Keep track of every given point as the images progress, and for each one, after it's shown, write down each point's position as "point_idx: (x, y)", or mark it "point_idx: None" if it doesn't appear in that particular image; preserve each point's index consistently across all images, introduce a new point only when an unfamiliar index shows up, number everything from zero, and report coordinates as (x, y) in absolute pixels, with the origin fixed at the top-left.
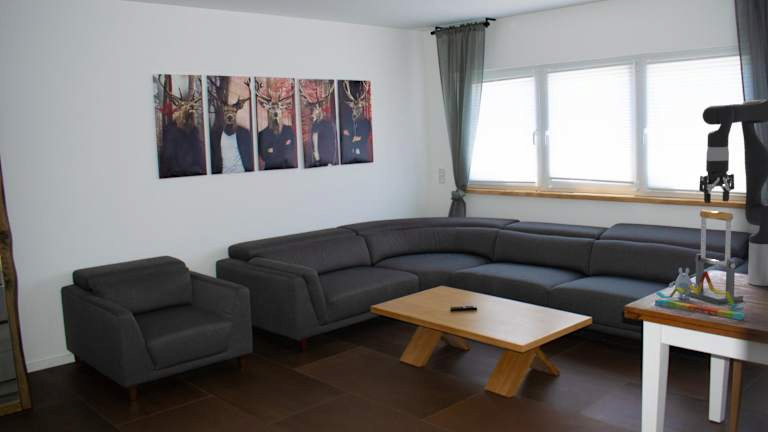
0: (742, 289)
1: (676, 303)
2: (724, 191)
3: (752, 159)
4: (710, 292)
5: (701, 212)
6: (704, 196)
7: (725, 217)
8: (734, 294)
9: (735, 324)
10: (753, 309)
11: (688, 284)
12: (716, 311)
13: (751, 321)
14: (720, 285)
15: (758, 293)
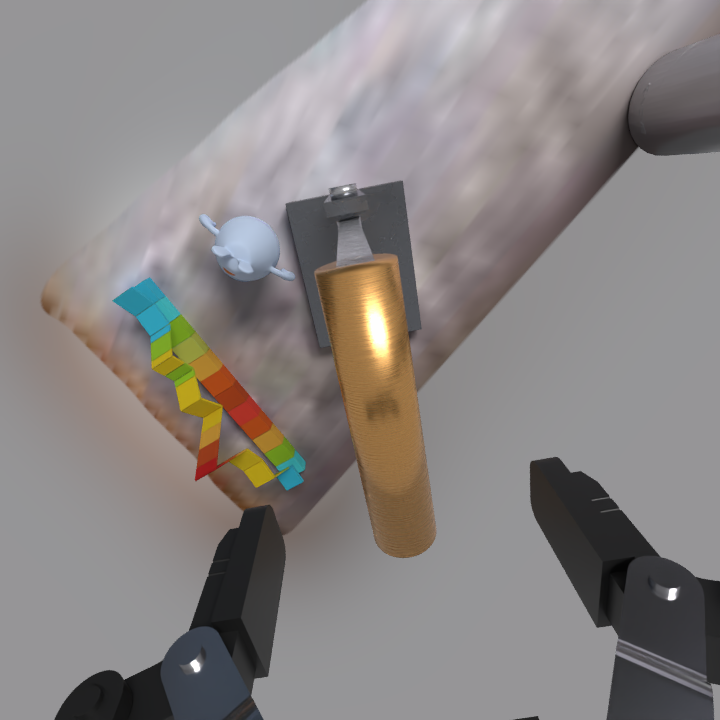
0: (534, 176)
1: (178, 346)
2: (609, 585)
3: None
4: None
5: (321, 293)
6: (205, 595)
7: (372, 527)
8: (407, 307)
9: (256, 498)
10: None
11: (250, 280)
12: (251, 438)
13: (306, 487)
14: (512, 79)
15: (535, 248)
